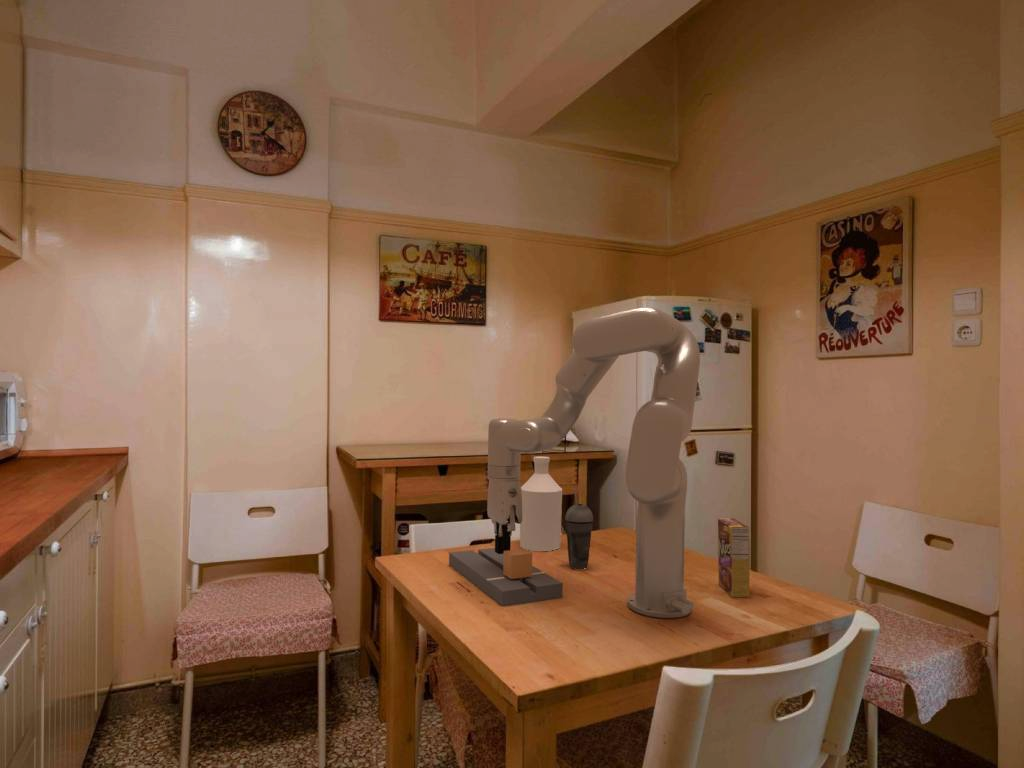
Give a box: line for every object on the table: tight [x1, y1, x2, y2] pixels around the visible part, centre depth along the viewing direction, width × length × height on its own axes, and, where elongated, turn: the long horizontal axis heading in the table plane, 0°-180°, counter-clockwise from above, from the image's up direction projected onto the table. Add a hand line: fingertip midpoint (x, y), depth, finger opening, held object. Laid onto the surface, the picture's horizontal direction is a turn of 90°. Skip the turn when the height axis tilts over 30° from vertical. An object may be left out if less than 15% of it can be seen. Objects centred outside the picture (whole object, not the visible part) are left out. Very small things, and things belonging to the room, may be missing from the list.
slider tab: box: [503, 548, 533, 583], centre depth 133 cm, size 4×5×7 cm
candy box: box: [717, 517, 751, 599], centre depth 135 cm, size 9×4×15 cm, turn 0°
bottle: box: [519, 456, 563, 552], centre depth 171 cm, size 12×12×25 cm
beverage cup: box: [564, 485, 595, 570], centre depth 152 cm, size 7×7×20 cm
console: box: [448, 547, 564, 607], centre depth 140 cm, size 32×14×3 cm, turn 25°
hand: (502, 552), depth 140 cm, fingers closed
